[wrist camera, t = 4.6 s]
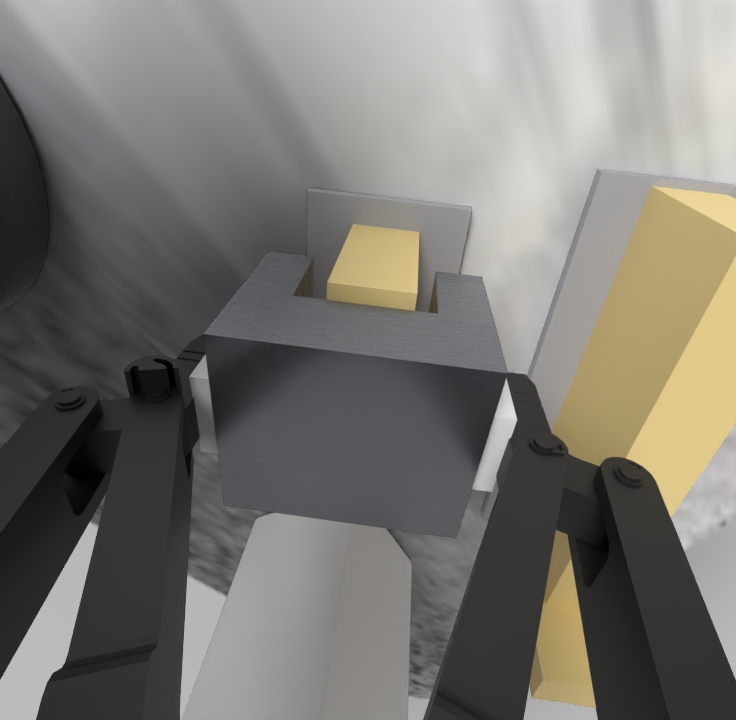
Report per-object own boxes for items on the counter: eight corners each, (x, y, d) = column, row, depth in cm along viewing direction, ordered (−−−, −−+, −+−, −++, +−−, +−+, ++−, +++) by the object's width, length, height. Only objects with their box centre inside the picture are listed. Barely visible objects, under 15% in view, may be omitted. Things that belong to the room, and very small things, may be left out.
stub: (306, 382, 22) (271, 475, 17) (310, 187, 17) (263, 239, 12) (431, 399, 22) (432, 498, 17) (470, 206, 17) (489, 267, 12)
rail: (481, 511, 26) (504, 696, 18) (597, 169, 16) (750, 264, 9) (590, 527, 26) (658, 721, 18) (775, 189, 16) (1094, 306, 8)
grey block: (273, 395, 19) (224, 505, 14) (269, 251, 15) (203, 333, 11) (447, 418, 18) (456, 538, 14) (481, 276, 15) (508, 373, 10)
